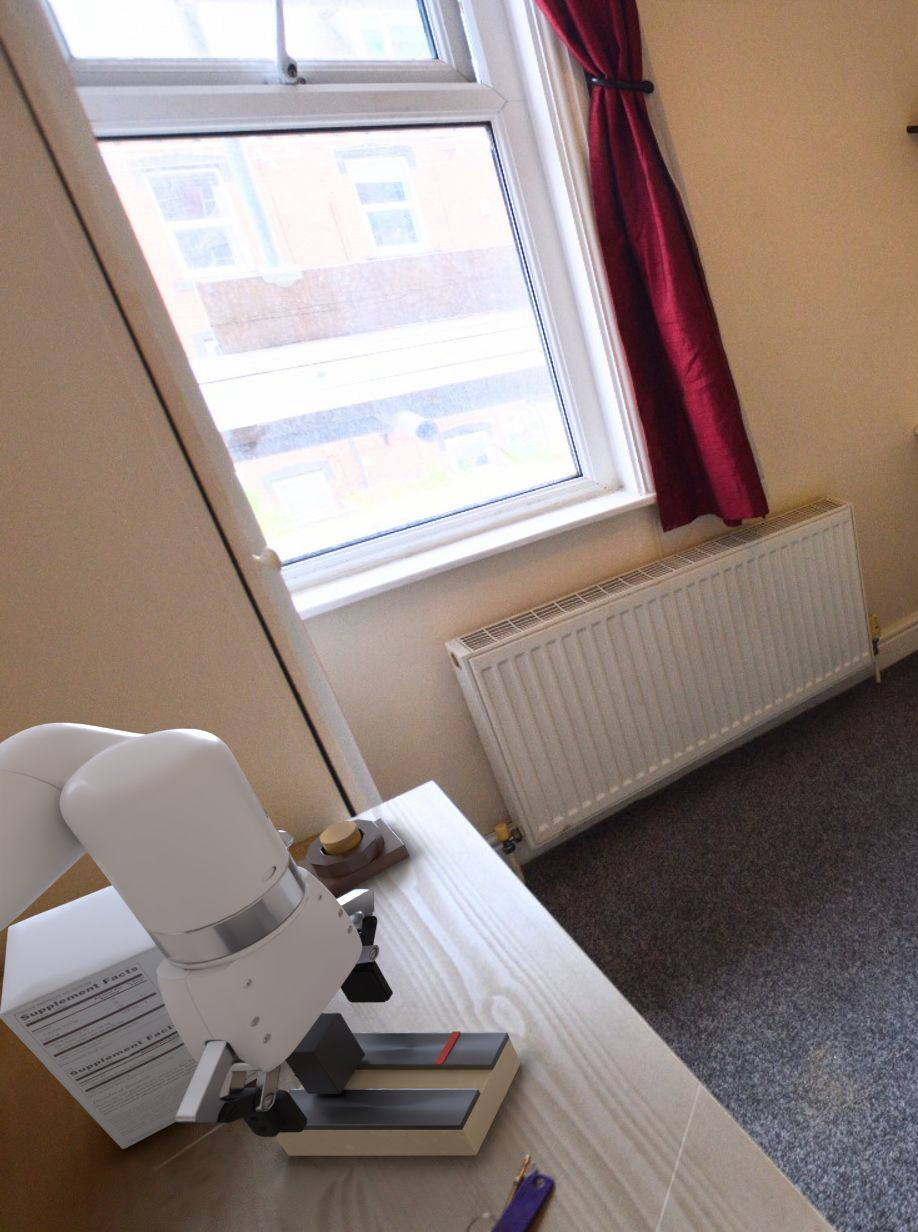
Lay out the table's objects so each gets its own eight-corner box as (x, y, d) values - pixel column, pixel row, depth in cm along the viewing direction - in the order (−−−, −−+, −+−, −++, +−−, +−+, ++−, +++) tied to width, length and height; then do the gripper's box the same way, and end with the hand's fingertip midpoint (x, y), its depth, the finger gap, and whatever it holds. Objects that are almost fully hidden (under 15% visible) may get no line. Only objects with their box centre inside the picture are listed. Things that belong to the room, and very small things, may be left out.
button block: (320, 906, 83) (306, 881, 82) (298, 876, 87) (284, 851, 85) (410, 856, 89) (398, 831, 87) (386, 828, 92) (374, 804, 90)
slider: (311, 1100, 64) (278, 1052, 61) (338, 1060, 67) (308, 1012, 64) (344, 1100, 64) (312, 1052, 61) (369, 1060, 67) (340, 1012, 64)
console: (288, 1156, 64) (264, 1124, 62) (349, 1063, 70) (329, 1031, 68) (476, 1156, 64) (459, 1124, 62) (521, 1063, 70) (507, 1031, 68)
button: (332, 860, 84) (326, 848, 84) (321, 846, 86) (314, 833, 85) (366, 842, 86) (360, 829, 86) (355, 828, 88) (348, 816, 87)
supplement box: (118, 1060, 70) (3, 923, 62) (259, 991, 76) (171, 856, 67) (120, 1155, 64) (-8, 1016, 56) (273, 1072, 69) (178, 935, 61)
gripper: (269, 806, 63) (355, 956, 72) (42, 1032, 48) (185, 1189, 56) (372, 805, 63) (445, 956, 72) (177, 1031, 48) (299, 1188, 57)
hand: (330, 1059), depth 64 cm, fingers open, 9 cm apart
